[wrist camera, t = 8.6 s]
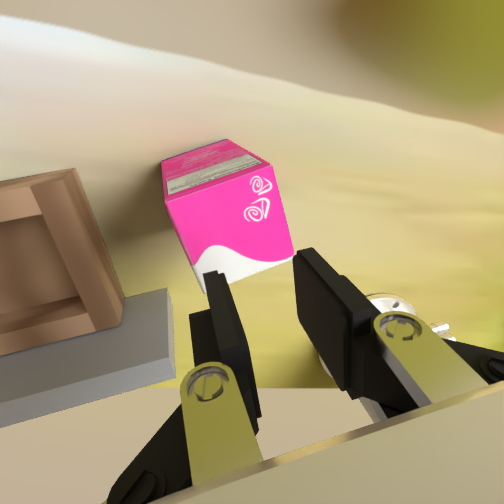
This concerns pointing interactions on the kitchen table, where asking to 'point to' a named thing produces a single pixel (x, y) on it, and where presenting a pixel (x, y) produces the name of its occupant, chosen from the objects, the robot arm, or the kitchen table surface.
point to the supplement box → (226, 211)
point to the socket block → (52, 264)
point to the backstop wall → (91, 362)
